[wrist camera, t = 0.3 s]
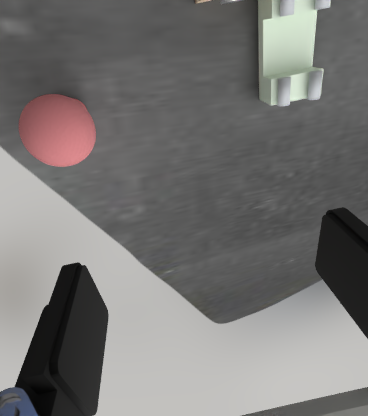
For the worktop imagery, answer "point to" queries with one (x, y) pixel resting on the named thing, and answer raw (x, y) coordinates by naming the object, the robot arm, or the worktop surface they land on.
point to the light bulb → (57, 130)
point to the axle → (228, 1)
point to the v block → (288, 50)
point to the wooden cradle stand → (200, 0)
